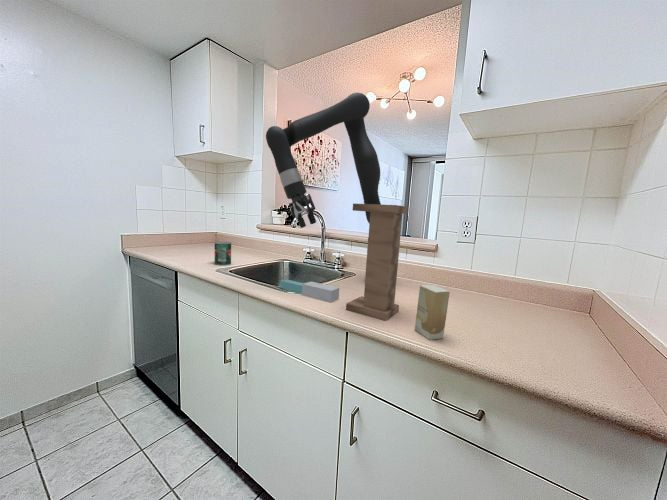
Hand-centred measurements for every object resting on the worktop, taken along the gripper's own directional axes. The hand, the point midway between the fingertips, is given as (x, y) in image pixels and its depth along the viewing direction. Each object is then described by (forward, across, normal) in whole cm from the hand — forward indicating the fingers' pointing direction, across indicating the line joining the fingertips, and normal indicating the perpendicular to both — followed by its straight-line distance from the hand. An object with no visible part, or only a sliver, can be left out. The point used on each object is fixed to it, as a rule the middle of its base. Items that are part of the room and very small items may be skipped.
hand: (308, 225), depth 103 cm
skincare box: (+36, -43, +1) cm, 56 cm away
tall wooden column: (+31, -24, +2) cm, 39 cm away
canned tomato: (+4, +57, +23) cm, 62 cm away
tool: (+22, -2, +11) cm, 25 cm away
